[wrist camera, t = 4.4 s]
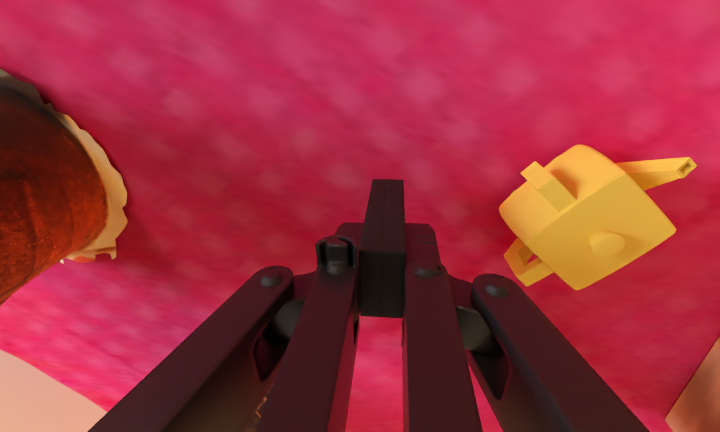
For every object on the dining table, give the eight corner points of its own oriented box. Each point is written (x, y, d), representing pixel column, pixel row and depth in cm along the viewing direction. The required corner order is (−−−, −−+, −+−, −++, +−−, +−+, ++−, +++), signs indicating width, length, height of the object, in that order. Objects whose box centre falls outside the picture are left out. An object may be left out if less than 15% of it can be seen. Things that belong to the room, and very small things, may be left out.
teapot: (586, 89, 15) (671, 105, 10) (655, 168, 16) (756, 214, 12) (456, 202, 18) (475, 252, 14) (521, 261, 19) (559, 325, 15)
